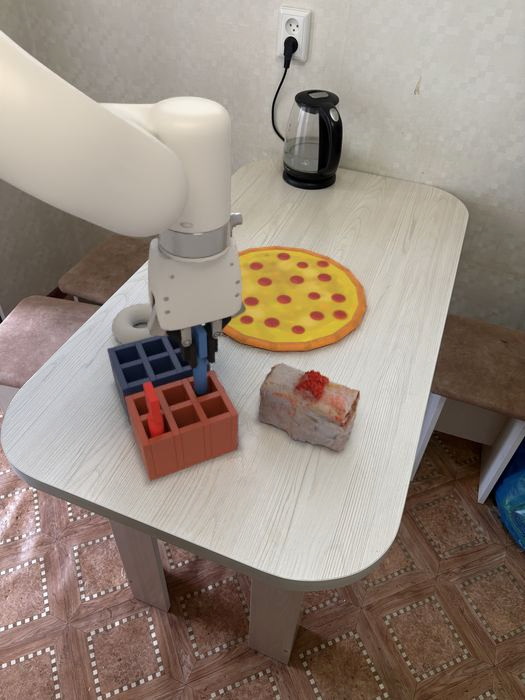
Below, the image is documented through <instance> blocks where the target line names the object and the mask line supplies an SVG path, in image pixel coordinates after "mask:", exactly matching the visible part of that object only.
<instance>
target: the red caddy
mask: <svg viewBox="0 0 525 700" xmlns="http://www.w3.org/2000/svg"><path fill="white" fill-rule="evenodd" d="M154 390H155V392H156V395H157V397H158V399H159V405H160V411H161V413H162V418H163V424H164V431H165V434H162V435H159V436H156V437H153V438H151V435H150V430H149V424H148V419H147V415H148V412H149V410H148V407H147V405H146V399H145V394H144V391H142V392H139V393H136V394H132V395H129V396H126V397H125V401H126V405H127V410H128V414H129V419H130V423H131V426H130V427H131V432H132V435H133V438H134V441H135V444H136V446H137V449H138V451H139V454H140V458H141V460H142V464H143V466H144V469H145V471H146V474H147V477H148V480H149V482H152V481H156V480H158V479H160V478H164V477H166V476H169V475H172V474H174V473H177V472H180V471H182V470H185V469H188V468H191V467H193V466H196V465H199V464H201V463H204V462H206V461H209V460H212V459H215V458H218V457H221V456H223V455H226V454H229V453H231V452H234V451H237V450H238V449H239V448H238V447H239V446H238V445H239V413H238V411H237V409H236V407H235V406H234V404H233V402H232V400H231V399H230V397H229V394H228V393H227V391H226V390H225V388H224V386H223V384H222V382H221V381H220V379H219V377H218V374H216V372H215V370H214V369H212V370H210V371H208V372H207V393H208V394H207V395H204V396H201V397H196V395H195V393H194V379H193V376H192V377H189V378H188V379H187V378H185V379H182V380H179V381H175V382H172V383H169V384H165V385H162V386H159V387H156V388H154Z"/></svg>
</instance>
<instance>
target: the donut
mask: <svg viewBox="0 0 525 700" xmlns="http://www.w3.org/2000/svg"><path fill="white" fill-rule="evenodd" d="M151 312H152V310H151V307H150V303H136V304H135V303H134V304H132V305H129V306H127V307H124V308H123V309H121V310H120V311H119V312H118V313H116V315H115V317H114V318H113V320H112V325H111V330H112V334H113V336H114V338H115V339H116V340H117V342H119V343H120V344H121V345H123V344H127V343H130V342H135V341H138V340H142V339H145V338H149V337H153V336H152V335H150V333H149V331H148V329H147V326H146V327H141V328H140V327H134V326H135V325H138V324H142V323H147V324H148V321H149V318H150V315H151Z"/></svg>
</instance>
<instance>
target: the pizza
mask: <svg viewBox="0 0 525 700" xmlns="http://www.w3.org/2000/svg"><path fill="white" fill-rule="evenodd" d="M238 255H239V261H240V268H241V278H242V301H243V303H244V305H245V308H246V310H245V312H244V313H242V314H240V315H238V316H237V317H235V318H232V319H231V321H230V322H229V323H228V324H227V325H226V326H225V328H224V329H223V330H222V334H225V335H226V336H228V337H230V338H232V339H233V340H235V341H237V343H240V344H244V345H248V346H251V347H255V348H259V349H263V350H267V351H271V352H300V351H301V352H303V351H304V352H305V351H307V352H308V351H311V350H314V349H317V348H321V347H325V346H328V345H331V344H334V343H338V342H339V341H341V340H342V339H343V338H345V336H347V335H348V334H350V333H351V332H352V331H353V330H356V328H358V327H359V325H360V324H361V321H362V319H363V316H364V314H365V312H366V310H367V307H368V306H367V300H366V294H365V290H364V286H363V285H362V284H361V282H360V281H359V280H358V279H357V277H356V276H355V275H354V273H353V272H352V271H351V270H350V269H349V268H348V267H345V266H344V265H343V264H341V263H340V262H338V261H337V260H335V259H333V258H331V257H330V256H328V255H324V254H321V253H318V252H315V251H311V250H309V249H305V248H300V247H291V246H283V245H282V246H280V245H271V246H260V247H250V248H247V249H243V250H241V251H238Z"/></svg>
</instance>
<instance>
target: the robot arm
mask: <svg viewBox="0 0 525 700" xmlns="http://www.w3.org/2000/svg"><path fill="white" fill-rule="evenodd" d="M232 125H233V124H232V120H231V116H230V113H229V112H228V110H227V109H226V108H225V107H224V106H223V105H222V104H221V103H219V102H217V101H215V100H212V99H210V98H205V97H200V96H192V95H189V96H188V95H187V96H186V95H185V96H184V95H183V96H172V97H169V98H165V99H162V100H160V101H157V102H155V103H116V102H115V103H114V102H97V101H96V100H94V99H93V98H91V97H90V96H88V95H87V94H85V93H84V92H83V91H81V90H80V89H78V88H77V87H75V86H74V85H72V84H71V83H69V82H68V81H67V80H66V79H63V78H62V77H61V76H59V75H58V74H57V73H56V72H54V71H52V70H51V69H50V68H48V67H47V66H46V65H44V64H43V63H42V62H40V61H39V60H38V59H37V58H35V57H34V56H33V55H31V54H30V53H29V52H27V51H26V50H25V49H23V48H22V47H21V46H20V45H19V44H18V43H16V42H15V41H14V40H13V39H12V38H11V37H9V36H8V35H7V34H6V33H5V32H4V31H3V30H1V29H0V179H1V180H3V182H6V183H8V184H9V185H11V186H13V187H14V188H17V189H19V190H20V191H22V192H24V193H26V194H28V195H29V196H32V197H34V198H35V199H37V200H40V201H42V202H44V203H46V204H47V205H49V206H52V207H54V208H55V209H58V210H60V211H63V212H65V213H67V214H69V215H71V216H74V217H75V218H79V219H82V220H84V221H87V222H88V223H90V224H93V225H96V226H98V227H100V228H103V229H105V230H108V231H110V232H113V233H115V234H119V235H122V236H125V237H131V238H132V237H133V238H148V237H153V236H156V235H157V237H155V238H153V239H151V240H150V244H149V250H148V260H147V261H148V262H147V288H148V302H149V303H148V304H150V307H151V310H152V312H151V315H150V318H149V321H148V323H147V325H146V327H147V329H148V331H149V333H150V335H152V336H168V337H170V338H172V339H174V340H176V341H178V342H180V353H181V357H182V359H183V361H188V363H189V365H190V367H191V369H194V368H196V367H197V349H196V344H195V342H194V340H193V338H192V336H191V326H195V325H199V324H202V326H203V328H204V329H205V331H206V333H207V360H208V362H209V363H210V365H212V364H215V363H216V353H218V352H219V338H221V336H222V334H223V332H222V330H223V329H224V328H225V326H226V325H227V324H228V323H229V322H230V321H231V319H232V318H235V317H237V316H238V315H240V314H242V313H244V312H245V310H246V308H245V305H244V303H243V301H242V278H241V268H240V261H239V255H238V252H239V250H238V246H237V245H238V244H237V241H236V239H235V236H234V234H233V230H234V228H236V227H237V226H241V225H243V222H244V220H243V215H242V212H240V211H237V212H234V211H232V155H233V154H232V153H233V152H232V149H233V131H232V130H233V129H232V128H233V127H232Z"/></svg>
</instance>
